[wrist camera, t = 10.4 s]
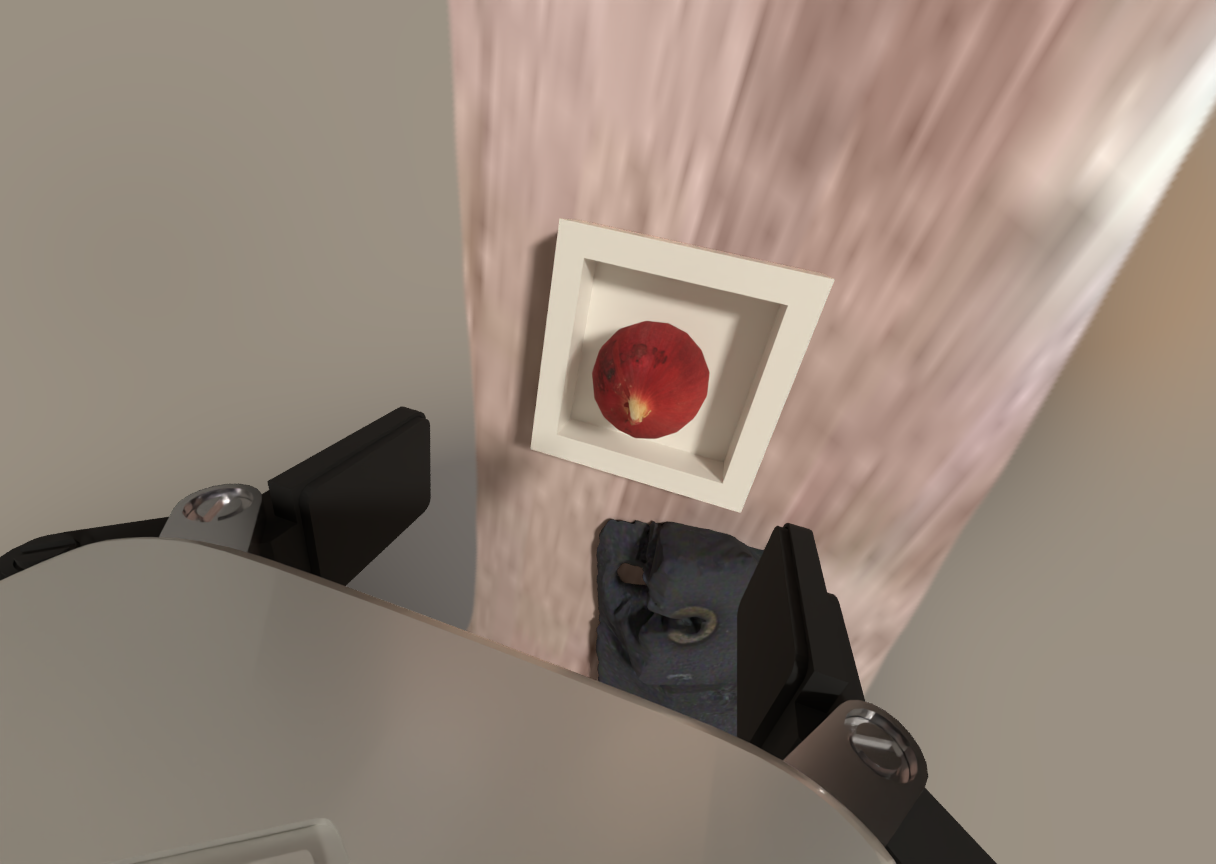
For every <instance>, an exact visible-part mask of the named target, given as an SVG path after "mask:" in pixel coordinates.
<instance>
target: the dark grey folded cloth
mask: <svg viewBox="0 0 1216 864" xmlns="http://www.w3.org/2000/svg"><path fill="white" fill-rule="evenodd" d="M649 529H650V532H648V530H649ZM599 538H600V543H599V545H598V548H597V561H598V565H597V568H598V575H597V584H598V605H599V607H598V609H599V611H600V615H599V621H600V624H599V626H598V627H597V634H598V636H597V642H596V652H597V656H598V660H599V664H598V674H599V677H598V681H599V682H602V683H604V684H607V685H610V686H612V687H615V688H617V689H620V690H623V691H625V692H628V693H630V694H633V695H636V696H638V697H641V698H643V699H646V700H648V701H651V702H653V703H656V704H658V705H661V706H663V707H666V708H668V709H671V710H673V711H676V712H678V713H681V714H683V715H686V716H688V717H691V718H693V719H696V720H698V721H701V722H703V723H706V724H708V725H711V726H713V727H715V728H718V729H720V730H722V731H724V732H727V733H729V734H731V735H733V736H735V737H737V612H738V607H739V604H740V601H741V599H742V597H743V595H744V593H745V590H746V588H747V586H748V584H749V582H750V580H751V577H752V575H753V573H754V571H755V569H756V567H757V565H758V562H759V560H760V558H761V556H762V554H763V552H764V550H760V549H756V548H752V547H749V546H747V545H745V544H744V543H742V542H740V541H739V540H737V539H736V538H735V537H733V536H731V535H728V534H724V533H720V532H716V531H713V530H710V529H703V528H698V527H693V526H688V525H684V524H680V523H675V522H665V523H664V524H663V525H661V524H657V523H655V522H654V521H653V522H652V523H651V525H650V526H649V525H648V524H647V523H642V522H639V521H636V520H635V523H634V524H631V523H628V522H625V521H619V522H617V521H616V520H610V521H608V523H607V524H606V526H605V527H603V529H602V530H601V533H600V535H599ZM622 563H629V564H631V565H634V566H639V567H642V568H643V571H644V573H643V580H644V582H645V583H646V585H635V584H629V583H624V582H622V581H621V579H620V577H619V576H618V574H617V569H618V568H619V566H620V565H621V564H622Z"/></svg>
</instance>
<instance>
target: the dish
mask: <svg viewBox="0 0 1216 864" xmlns="http://www.w3.org/2000/svg"><path fill="white" fill-rule="evenodd" d="M834 280H835V279H833V278H831V277H829V276H827V275H825V274H822V273H819V272H814V271H810V270H805V269H800V268H796V267H791V266H787V265H782V264H778V263H773V262H769V261H764V260H760V259H755V258H751V257H746V256H741V255H737V254H732V253H728V252H723V251H719V250H714V249H710V248H705V247H701V246H696V245H692V244H687V243H683V242H678V241H673V240H669V239H664V238H660V237H655V236H651V235H646V234H642V233H637V232H633V231H628V230H624V229H619V228H614V227H610V226H605V225H601V224H596V223H592V222H587V221H583V220H575V219H561V218H560V219H559V227H558V235H557V243H556V251H555V259H554V267H553V274H552V282H551V290H550V298H549V306H548V314H547V322H546V330H545V338H544V346H543V354H542V361H541V369H540V377H539V385H538V393H537V401H536V409H535V417H534V425H533V433H532V440H531V448H530V449H532V450H535V451H539V452H542V453H545V454H549V455H552V456H555V457H558V458H562V459H565V460H568V461H572V462H575V463H578V464H581V465H585V466H588V467H591V468H595V469H598V470H601V471H605V472H608V473H611V474H614V475H618V476H621V477H624V478H628V479H631V480H634V481H637V482H641V483H644V484H647V485H651V486H654V487H657V488H661V489H664V490H667V491H670V492H674V493H677V494H680V495H684V496H687V497H690V498H693V499H697V500H700V501H703V502H707V503H710V504H713V505H716V506H720V507H723V508H726V509H730V510H733V511H736V512H740V513H741V511H742V508H743V506H744V503H745V501H746V498H747V496H748V493H749V491H750V488H751V486H752V484H753V481H754V479H755V476H756V474H757V471H758V469H759V466H760V464H761V461H762V459H763V456H764V454H765V451H766V449H767V446H768V444H769V441H770V439H771V436H772V434H773V431H774V429H775V426H776V424H777V421H778V419H779V416H780V414H781V411H782V409H783V406H784V404H785V402H786V399H787V397H788V394H789V392H790V389H791V387H792V384H793V382H794V379H795V377H796V374H797V372H798V369H799V367H800V364H801V362H802V359H803V357H804V354H805V352H806V349H807V347H808V344H809V342H810V339H811V337H812V334H813V332H814V329H815V327H816V324H817V322H818V320H819V317H820V315H821V312H822V310H823V307H824V305H825V302H826V300H827V297H828V295H829V292H830V290H831V287H832V285H833V282H834ZM643 321H653V322H663V323H669V324H671V325H673V326H675V327H677V328H679V329H681V330H682V331H684V332H686V333H688V335H689V336H690V337H691V338H692V339H693V341H694V342H695V343H696V344H697V345H698V346H699V348H700V349H701V350H702V353H703V355H704V358H705V361H706V364H707V366H708V369H709V372H710V374H709V383H708V392H707V397H706V399H705V400H704V402H703V404H702V406H701V408H700V409H699V411H698V413H697V415H696V416H695V417H694V419H693V420H691V421H690V422H689V423H688V424H687V425H685V426H684V427H683V428H682V429H680V430H679V431H678V432H676V433H673V434H670V435H667V436H664V437H660V438H657V439H642V438H634V437H632V436H630V435H628V434H626V433H624V432H622V431H620V430H617V429H616V428H615V427H614V426H613V425H612V424H611V423H610V422H609V421H608V420H606V419H605V418H604V416H603V415H602V413H601V411H600V409H599V407H598V405H597V403H596V401H595V399H594V390H593V379H592V371H593V368H594V365H595V362H596V359H597V356H598V353H599V350H600V349H601V347H602V345H604V344H605V343H606V342H607V341H608V340H609V339H610V338H611V337H612V336H613V335H614V334H615V333H616V332H617V331H618V330H619V329H621V328H624V327H627V326H630V325H633V324H637V323H640V322H643Z"/></svg>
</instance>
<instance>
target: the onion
mask: <svg viewBox="0 0 1216 864" xmlns="http://www.w3.org/2000/svg"><path fill="white" fill-rule="evenodd" d="M709 374H710V372H709V369H708V366H707V364H706V361H705V358H704V355H703V353H702V350H701V349H700V348H699V346H698V345H697V344H696V343H695V342H694V341H693V339H692V338H691V337H690V336H689V335H688V333H686V332H684V331H682V330H681V329H679V328H677V327H675V326H673V325H671V324H669V323H663V322H653V321H643V322H640V323H637V324H633V325H630V326H627V327H624V328H621V329H619V330H618V331H617V332H616V333H615V334H614V335H613V336H612V337H611V338H610V339H609V340H608V341H607V342H606V343H605V344H604V345H602V347H601V349H600V350H599V353H598V356H597V359H596V362H595V365H594V368H593V371H592V379H593V390H594V399H595V401H596V403H597V405H598V407H599V409H600V411H601V413H602V415H603V416H604V418H605V419H606V420H608V421H609V422H610V423H611V424H612V425H613V426H614V427H615V428H616V429H617V430H620V431H622V432H624V433H626V434H628V435H630V436H632V437H634V438H642V439H657V438H660V437H664V436H667V435H670V434H673V433H676V432H678V431H679V430H680V429H682V428H683V427H684V426H685V425H687V424H688V423H689V422H690V421H691V420H693V419H694V417H695V416H696V415H697V413H698V411H699V409H700V408H701V406H702V404H703V402H704V400H705V399H706V397H707V392H708V383H709Z"/></svg>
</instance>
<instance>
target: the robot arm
mask: <svg viewBox="0 0 1216 864" xmlns="http://www.w3.org/2000/svg"><path fill="white" fill-rule="evenodd" d="M268 486H269V490H268V491H267V492H265V493H263V494H261V493H260V491H259V490H258V489H257V488H254V487H252V486H250V485H243V484H223V485H218V486H212V487H209V488H205V489H202V490H199V491H197V492H195V493H192V494H190V495H188V496H187V497H185V498H184V499H182V500H181V501H180V502H178V504H177V505H176V506H175V507H174V509H173V510H172V512H171V514H170V516H169V517H164V518H157V519H150V520H144V521H137V522H130V523H124V524H116V525H110V526H103V527H96V528H89V529H83V530H76V531H69V532H63V533H58V534H53V535H47V536H43V537H39V538H36V539H33V540H31V541H29V542H27V543H25V544H23V545H21V546H19V547H16V548H14V549H12V550H10V551H9V552H7V553H6V554H4V555H3V556H1V557H0V864H996V862H995V861H994V860H993V859H992V858H991V857H990V856H989V855H988V854H987V853H986V852H985V851H984V850H983V849H982V848H981V847H980V846H979V845H978V843H976V841H975V840H974V839H973V838H972V837H971V836H970V835H969V834H968V833H967V832H966V831H965V830H964V829H963V827H962V826H961V825H960V824H959V823H958V822H957V821H956V820H955V819H954V818H953V817H952V816H951V815H950V814H949V813H948V812H947V811H946V809H945V808H944V807H943V806H942V805H941V804H940V803H939V802H938V801H937V800H936V799H935V798H934V797H933V796H932V795H931V794H930V793H929V791H928V790H927V789H926V788H925V785H926V782H927V779H928V771H927V764H926V761H925V758H924V756H923V753H922V751H921V749H920V747H919V746H918V744H917V743H916V741H915V740H914V738H913V737H912V735H911V734H910V733H909V732H908V730H907V729H905V727H904V726H903V725H902V724H901V723H900V722H899V721H898V720H897V719H895V718H894V717H893V716H892V715H890V714H889V713H887V712H886V711H885V710H883V709H881V708H880V707H878V706H876V705H874V704H872V703H869V702H865V699H864V695H863V691H862V687H861V684H860V680H859V676H858V672H857V669H856V665H855V661H854V657H853V653H852V650H851V646H850V642H849V638H848V634H847V631H846V627H845V623H844V619H843V615H842V612H841V608H840V604H839V601H838V599H837V597H836V596H835V595H833V594H830V593H827V590H826V586H825V582H824V578H823V573H822V569H821V565H820V561H819V557H818V552H817V548H816V544H815V540H814V536H813V532H812V530H810V529H807V528H803V527H800V526H797V525H793V524H790V523H786V524H785V525H784V526H783V527H779V526H776V527H775V528H774V530H773V532H772V534H771V537H770V539H769V541H768V543H767V545H766V547H765V549H764V552H763V554H762V556H761V558H760V560H759V562H758V565H757V567H756V569H755V571H754V573H753V575H752V577H751V580H750V582H749V584H748V586H747V588H746V590H745V593H744V595H743V597H742V599H741V601H740V604H739V607H738V612H737V737H735V736H733V735H731V734H729V733H727V732H724V731H722V730H720V729H718V728H715V727H713V726H711V725H708V724H706V723H703V722H701V721H698V720H696V719H693V718H691V717H688V716H686V715H683V714H681V713H678V712H676V711H673V710H671V709H668V708H666V707H663V706H661V705H658V704H656V703H653V702H651V701H648V700H646V699H643V698H641V697H638V696H636V695H633V694H630V693H628V692H625V691H623V690H620V689H617V688H615V687H612V686H610V685H607V684H604V683H602V682H599V681H596V680H594V679H591V678H589V677H586V676H583V675H581V674H578V673H575V672H573V671H570V670H568V669H565V668H562V667H560V666H557V665H555V664H552V663H549V662H547V661H544V660H541V659H539V658H536V657H534V656H531V655H528V654H526V653H523V652H520V651H518V650H515V649H512V648H510V647H507V646H504V645H502V644H499V643H496V642H494V641H491V640H488V639H486V638H483V637H480V636H478V635H475V634H472V633H470V632H467V631H464V630H462V629H459V628H456V627H454V626H451V625H448V624H445V623H443V622H440V621H438V620H435V619H432V618H430V617H427V616H424V615H422V614H419V613H416V612H414V611H411V610H408V609H406V608H403V607H400V606H397V605H395V604H392V603H389V602H387V601H384V600H381V599H378V598H376V597H373V596H370V595H367V594H365V593H362V592H359V591H357V590H354V589H351V588H349V587H346V585H347V584H348V583H349V582H350V581H351V580H352V579H353V578H354V577H355V576H356V575H358V574H359V573H360V572H361V571H362V570H363V569H364V568H365V567H366V566H367V565H368V564H369V563H370V562H371V561H372V560H373V559H375V558H376V557H377V556H378V555H379V554H380V553H381V552H382V551H383V550H384V549H385V548H386V547H387V546H388V545H389V544H391V543H392V542H393V541H394V540H395V539H396V538H397V537H398V536H399V535H400V534H401V533H402V532H403V531H404V530H405V529H406V528H408V527H409V526H410V525H411V524H412V523H413V522H414V521H415V520H416V519H417V518H418V517H419V516H420V515H421V514H422V513H423V512H424V511H425V510H426V509H427V507H428V505H429V503H430V423H429V421H428V420H427V419H426V417H425V415H424V413H422V412H419V411H416V410H412V409H409V408H406V407H400V408H397V409H395V410H394V411H392V412H390V413H388V414H387V415H385V416H383V417H381V418H380V419H378V420H376V421H374V422H372V423H371V424H369V425H367V426H365V427H363V428H362V429H360V430H358V431H356V432H354V433H353V434H351V435H349V436H347V437H346V438H344V439H342V440H340V441H339V442H337V443H335V444H333V445H332V446H330V447H328V448H326V449H324V450H323V451H321V452H319V453H317V454H316V455H314V456H312V457H310V458H309V459H307V460H305V461H303V462H301V463H299V464H298V465H296V466H294V467H292V468H290V469H289V470H287V471H285V472H283V473H282V474H280V475H278V476H276V477H274V478H273V479H271V480H269V481H268Z"/></svg>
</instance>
